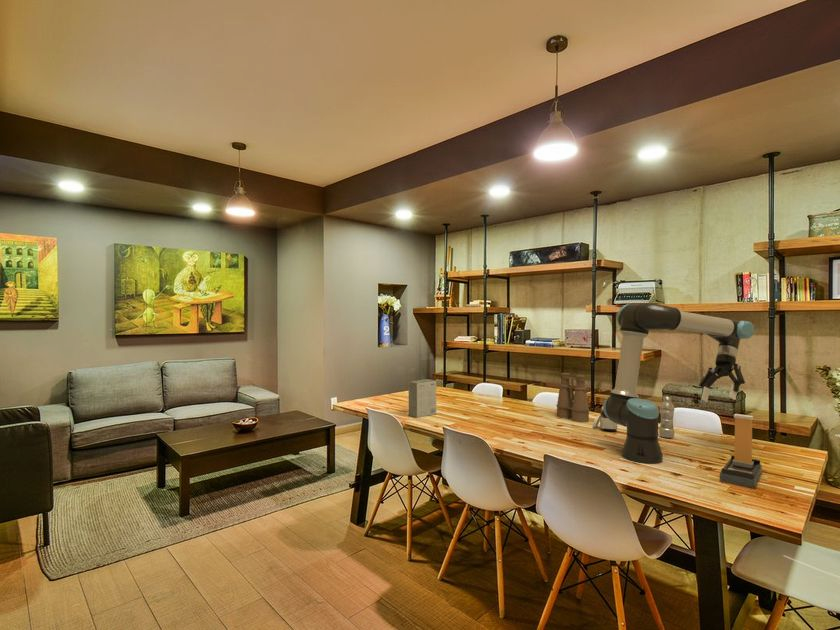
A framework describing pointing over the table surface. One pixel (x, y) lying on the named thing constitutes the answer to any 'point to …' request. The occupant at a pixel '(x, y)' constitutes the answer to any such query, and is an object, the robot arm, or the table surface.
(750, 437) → the tan upright block
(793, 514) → the table surface
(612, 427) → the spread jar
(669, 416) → the plastic bottle
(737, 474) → the dark grey stand
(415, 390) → the hard drive box
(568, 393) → the binoculars
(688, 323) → the robot arm
